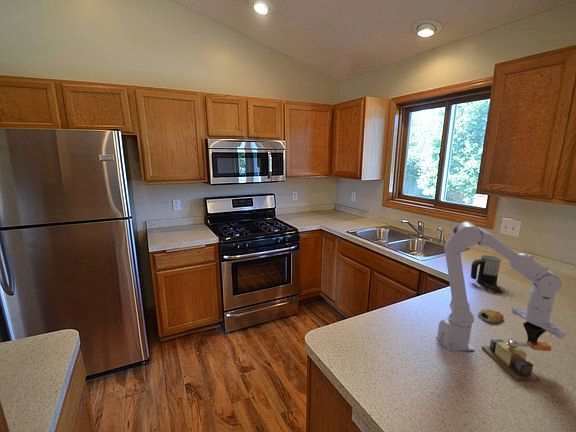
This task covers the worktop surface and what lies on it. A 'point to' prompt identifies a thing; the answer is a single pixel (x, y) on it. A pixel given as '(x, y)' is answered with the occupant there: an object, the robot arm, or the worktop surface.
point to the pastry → (491, 315)
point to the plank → (511, 370)
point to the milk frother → (487, 271)
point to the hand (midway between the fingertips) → (531, 344)
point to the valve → (511, 357)
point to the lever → (530, 345)
